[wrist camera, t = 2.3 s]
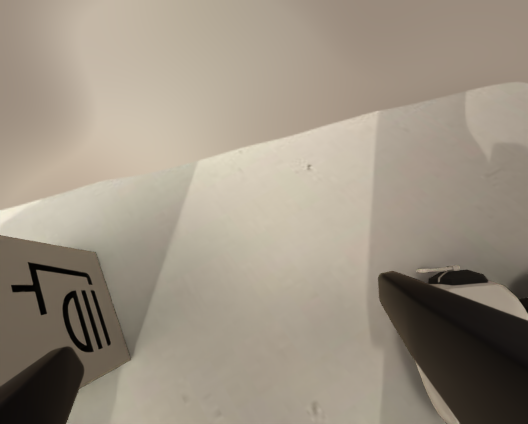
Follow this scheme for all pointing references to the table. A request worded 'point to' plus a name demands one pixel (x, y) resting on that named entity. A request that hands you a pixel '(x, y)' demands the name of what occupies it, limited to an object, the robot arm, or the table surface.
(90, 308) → the icon cube
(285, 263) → the table surface
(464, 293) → the robot toy
